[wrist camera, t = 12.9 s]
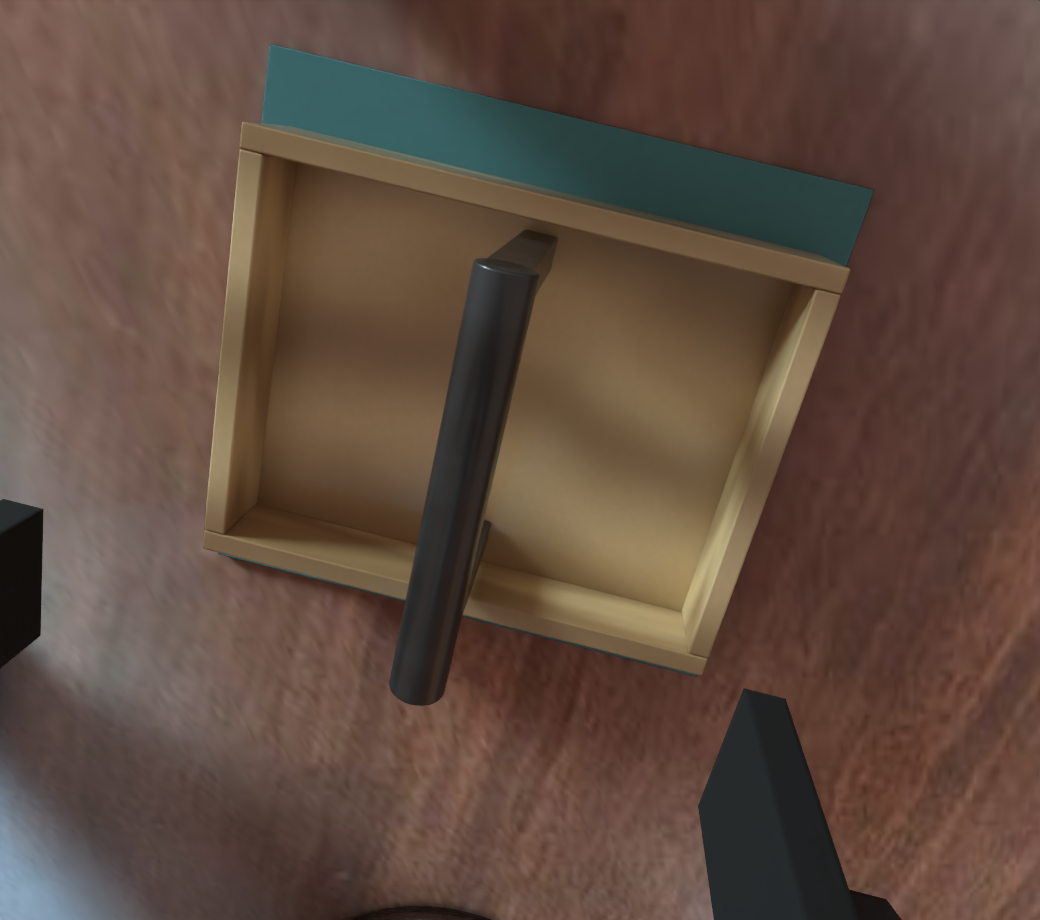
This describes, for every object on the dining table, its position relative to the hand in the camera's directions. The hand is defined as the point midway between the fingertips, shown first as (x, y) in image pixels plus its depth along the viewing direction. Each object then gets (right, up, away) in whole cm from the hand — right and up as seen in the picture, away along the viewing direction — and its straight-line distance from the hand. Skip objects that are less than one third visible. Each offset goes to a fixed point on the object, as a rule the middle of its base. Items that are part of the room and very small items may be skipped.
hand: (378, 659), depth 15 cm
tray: (+2, +6, +16) cm, 17 cm away
